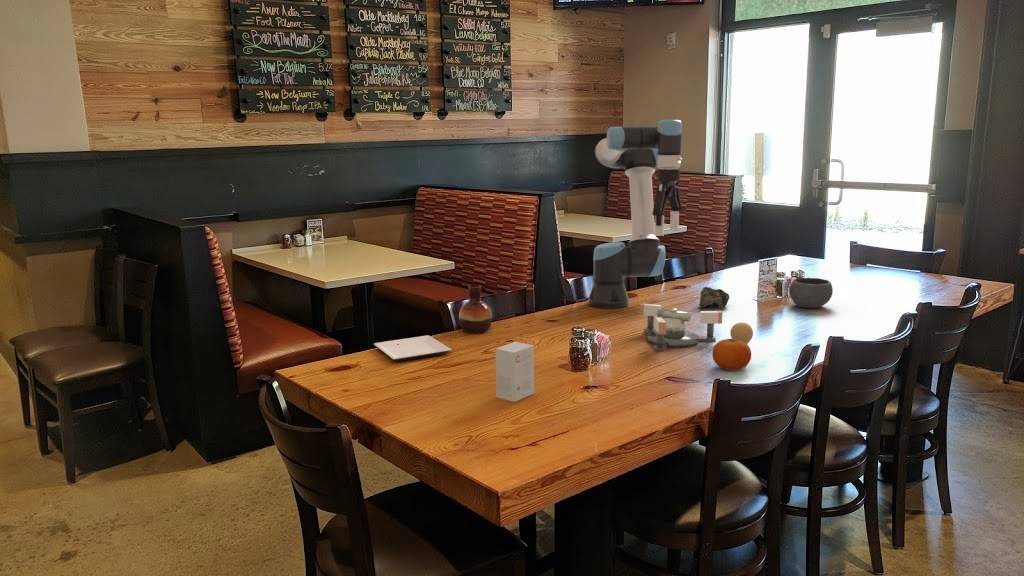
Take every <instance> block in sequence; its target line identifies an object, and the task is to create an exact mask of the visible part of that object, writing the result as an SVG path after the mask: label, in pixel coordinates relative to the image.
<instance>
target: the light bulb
mask: <svg viewBox="0 0 1024 576" xmlns="http://www.w3.org/2000/svg"><path fill="white" fill-rule="evenodd" d="M753 336H754V330H753V328H752V326H751V325H750V324H749V323H746V322H737V323H734V324H733V325H732V326H731V329H730V337H731V338H730V339H737V340H740V341H743V342H745V343H746V344H747V345H748V344H749V343H750V341H751V340H752V339H753Z"/></svg>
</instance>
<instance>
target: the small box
mask: <svg viewBox="0 0 1024 576" xmlns="http://www.w3.org/2000/svg"><path fill="white" fill-rule="evenodd" d="M494 350H495V351H494V352H495V353H494V354H495V392H496V398H498V399H501V400H505V401H508V402H513V403H516V402H518V401H520V400H523V399H525V398H527V397H529V396H531V395H535V369H534V367H535V360H534V358H535V356H534V352H535V351H534V345H532V344H528V343H525V342H524V343H523V342H519V341H513V342H510V343H508V344H505V345H502V346H499V347H495V348H494Z"/></svg>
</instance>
